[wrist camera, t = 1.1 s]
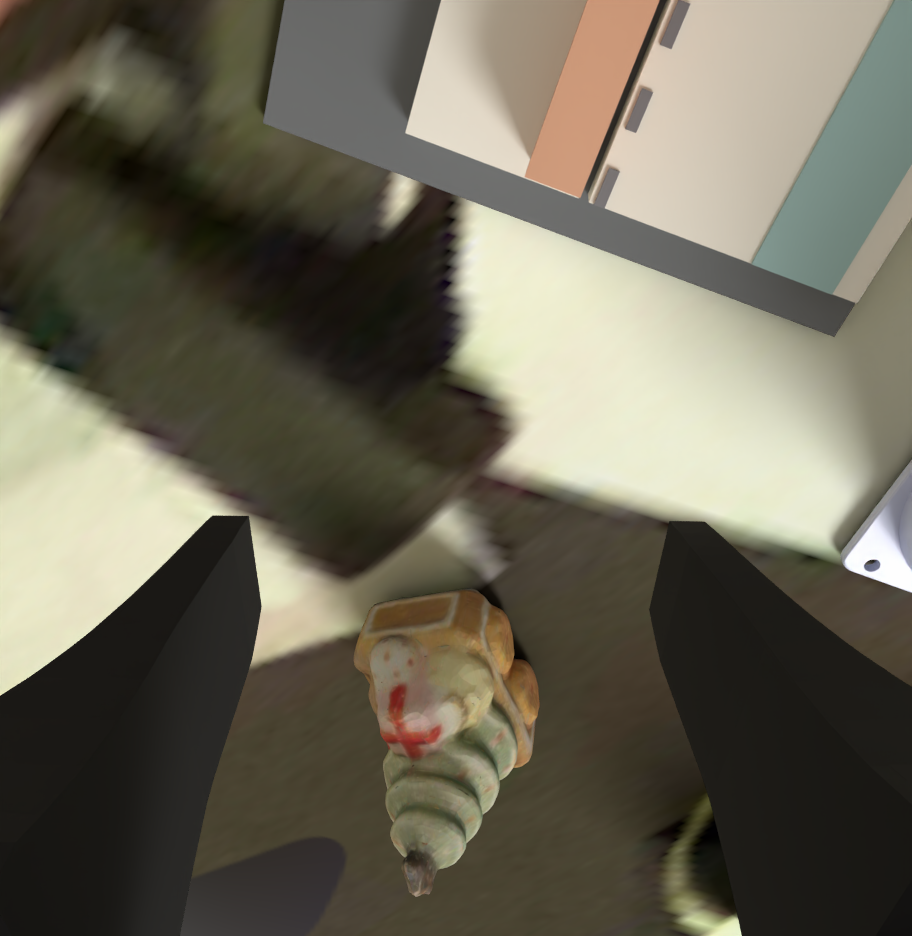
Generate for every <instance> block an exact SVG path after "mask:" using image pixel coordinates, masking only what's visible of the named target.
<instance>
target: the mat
mask: <svg viewBox="0 0 912 936" xmlns="http://www.w3.org/2000/svg"><path fill="white" fill-rule="evenodd" d="M666 1H667V0H660V1H659V3H658V6H657V8H656V11H655V13H654V16H653V18H652V21H651V23H650V26H649V28H648V31H647V33H646V36H645V38H644V41H643V43H642V45H641V48H640V50H639V53H638V55H637V58H636V60H635V63H634V65H633V68H632V70H631V73H630V75H629V78H628V80H627V83H626V85H625V88H624V90H623V93H622V95H621V98H620V100H619V103H618V105H617V108H616V110H615V113H614V115H613V118H612V120H611V123H610V125H609V128H608V130H607V133H606V135H605V138H604V140H603V143H602V145H601V148H600V150H599V153H598V155H597V158H596V160H595V163H594V165H593V168H592V170H591V173H590V175H589V178H588V180H587V183H586V185H585V187H584V190H583V192H582V195H581V197H580V198H576V197H573V196H571V195H568V194H565V193H563V192H560V191H557V190H555V189H552V188H549V187H547V186H544V185H541V184H539V183H536V182H533V181H531V180H528V179H525V178H523V177H520V176H518V175H515V174H512V173H510V172H507V171H504V170H502V169H499V168H496V167H494V166H491V165H488V164H486V163H483V162H480V161H478V160H475V159H472V158H470V157H467V156H465V155H462V154H459V153H457V152H454V151H451V150H449V149H446V148H443V147H441V146H438V145H435V144H433V143H430V142H427V141H425V140H422V139H419V138H417V137H414V136H412V135H409V134H406V133H405V132H406V128H407V124H408V121H409V117H410V113H411V110H412V106H413V102H414V99H415V95H416V91H417V87H418V84H419V80H420V76H421V73H422V69H423V65H424V62H425V58H426V54H427V51H428V47H429V43H430V39H431V36H432V32H433V28H434V25H435V21H436V17H437V14H438V10H439V6H440V3H441V0H285V2H284V7H283V13H282V19H281V24H280V30H279V36H278V41H277V47H276V53H275V58H274V64H273V69H272V75H271V81H270V86H269V92H268V98H267V103H266V109H265V115H264V120H263V123H264V124H267V125H270V126H272V127H275V128H278V129H280V130H283V131H286V132H288V133H291V134H294V135H296V136H299V137H302V138H304V139H307V140H310V141H312V142H315V143H318V144H320V145H323V146H326V147H328V148H331V149H334V150H336V151H339V152H342V153H344V154H347V155H350V156H352V157H355V158H358V159H360V160H363V161H366V162H368V163H371V164H374V165H376V166H379V167H382V168H385V169H387V170H390V171H393V172H395V173H398V174H401V175H403V176H406V177H409V178H411V179H414V180H417V181H419V182H422V183H425V184H427V185H430V186H433V187H435V188H438V189H441V190H443V191H446V192H449V193H451V194H454V195H457V196H459V197H462V198H465V199H467V200H470V201H473V202H475V203H478V204H481V205H483V206H486V207H489V208H491V209H494V210H497V211H499V212H502V213H505V214H507V215H510V216H513V217H515V218H518V219H521V220H523V221H526V222H529V223H531V224H534V225H537V226H539V227H542V228H545V229H548V230H550V231H553V232H556V233H558V234H561V235H564V236H566V237H569V238H572V239H574V240H577V241H580V242H582V243H585V244H588V245H590V246H593V247H596V248H598V249H601V250H604V251H606V252H609V253H612V254H614V255H617V256H620V257H622V258H625V259H628V260H630V261H633V262H636V263H638V264H641V265H644V266H646V267H649V268H652V269H654V270H657V271H660V272H662V273H665V274H668V275H670V276H673V277H676V278H678V279H681V280H684V281H686V282H689V283H692V284H694V285H697V286H700V287H702V288H705V289H708V290H711V291H713V292H716V293H719V294H721V295H724V296H727V297H729V298H732V299H735V300H737V301H740V302H743V303H745V304H748V305H751V306H753V307H756V308H759V309H761V310H764V311H767V312H769V313H772V314H775V315H777V316H780V317H783V318H785V319H788V320H791V321H793V322H796V323H799V324H801V325H804V326H807V327H809V328H812V329H815V330H817V331H820V332H823V333H825V334H828V335H831V336H833V337H834V336H835V335H836V333H837V332H838V330H839V329H840V327H841V325H842V324H843V322H844V321H845V319H846V317H847V316H848V314H849V313H850V311H851V310H852V308H853V306H854V305H855V303H854V302H852V301H849V300H846V299H844V298H841V297H838V296H836V295H833V294H832V295H831V294H829V293H826V292H823V291H821V290H818V289H815V288H813V287H810V286H807V285H805V284H802V283H799V282H797V281H794V280H792V279H789V278H786V277H784V276H781V275H778V274H776V273H773V272H770V271H768V270H765V269H762V268H760V267H757V266H754V265H752V264H751V263H748V262H746V261H743V260H740V259H738V258H735V257H732V256H730V255H727V254H724V253H722V252H719V251H716V250H714V249H711V248H708V247H706V246H703V245H700V244H698V243H695V242H693V241H690V240H687V239H685V238H682V237H679V236H677V235H674V234H671V233H669V232H666V231H663V230H661V229H658V228H655V227H653V226H650V225H647V224H645V223H642V222H639V221H637V220H634V219H632V218H629V217H626V216H624V215H621V214H618V213H616V212H613V211H610V210H608V209H605V208H604V209H603V208H601V207H598V206H595V205H594V204H592V203H589V200H588V193H589V190H590V188H591V185H592V183H593V181H594V178H595V176H596V173H597V171H598V168H599V166H600V163H601V161H602V158H603V156H604V153H605V151H606V148H607V146H608V144H609V141H610V139H611V136H612V134H613V131H614V129H615V126H616V124H617V121H618V119H619V116H620V114H621V111H622V109H623V107H624V104H625V102H626V99H627V97H628V94H629V92H630V89H631V87H632V84H633V82H634V79H635V77H636V74H637V72H638V70H639V67H640V65H641V62H642V60H643V57H644V55H645V52H646V50H647V47H648V45H649V42H650V40H651V38H652V35H653V33H654V30H655V28H656V25H657V23H658V20H659V18H660V15H661V13H662V10H663V8H664V5H665V3H666Z"/></svg>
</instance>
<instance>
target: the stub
mask: <svg viewBox="0 0 912 936" xmlns="http://www.w3.org/2000/svg"><path fill="white" fill-rule="evenodd" d="M659 1H660V0H441V3H440V6H439V10H438V14H437V17H436V21H435V25H434V28H433V32H432V36H431V39H430V43H429V47H428V51H427V54H426V58H425V62H424V65H423V69H422V73H421V76H420V80H419V84H418V87H417V91H416V95H415V99H414V102H413V106H412V110H411V113H410V117H409V121H408V124H407V128H406V132H405V133H406V134H409V135H412V136H414V137H417V138H419V139H422V140H425V141H427V142H430V143H433V144H435V145H438V146H441V147H443V148H446V149H449V150H451V151H454V152H457V153H459V154H462V155H465V156H467V157H470V158H472V159H475V160H478V161H480V162H483V163H486V164H488V165H491V166H494V167H496V168H499V169H502V170H504V171H507V172H510V173H512V174H515V175H518V176H520V177H523V178H525V179H528V180H531V181H533V182H536V183H539V184H541V185H544V186H547V187H549V188H552V189H555V190H557V191H560V192H563V193H565V194H568V195H571V196H573V197H576V198H580V197H581V195H582V192H583V190H584V187H585V185H586V183H587V180H588V178H589V175H590V173H591V170H592V168H593V165H594V163H595V160H596V158H597V155H598V153H599V150H600V148H601V145H602V143H603V140H604V138H605V135H606V133H607V130H608V128H609V125H610V123H611V120H612V118H613V115H614V113H615V110H616V108H617V105H618V103H619V100H620V98H621V95H622V93H623V90H624V88H625V85H626V83H627V80H628V78H629V75H630V73H631V70H632V68H633V65H634V63H635V60H636V58H637V55H638V53H639V50H640V48H641V45H642V43H643V41H644V38H645V36H646V33H647V31H648V28H649V26H650V23H651V21H652V18H653V16H654V13H655V11H656V8H657V6H658V3H659Z"/></svg>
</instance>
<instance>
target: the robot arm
mask: <svg viewBox="0 0 912 936" xmlns="http://www.w3.org/2000/svg"><path fill="white" fill-rule="evenodd" d="M872 559H874V560H876V561H875V562H874V563H873V564H870V565H865V563H866V562H867V561H869V560H872ZM841 561H842V563H843V564H844V566H845V568H847V569H848V570H850V571H853V572H855V573H858V574H861V575H864V576H866V577H869V578H872V579H875V580H878V581H880V582H883V583H886V584H889V585H892V586H894V587H897V588H900V589H903V590H906V591H908V592H911V593H912V460H911V461H910V462H909V464H908V465H907V466H906V468H905V469H904V470H903V472H902V473H901V474H900V476H899V477H898V478H897V480H896V481H895V482H894V483H893V485H892V486H891V487H890V489H889V490H888V491H887V493H886V494H885V495H884V497H883V498H882V499H881V501H880V502H879V503H878V504H877V506H876V507H875V508H874V510H873V511H872V512H871V514H870V515H869V516H868V518H867V519H866V520H865V522H864V523H863V524H862V525H861V527H860V528H859V529H858V531H857V532H856V533H855V535H854V536H853V537H852V539H851V540H850V541H849V543H848V544H847V545H846V547H845V548H844V549H843V551H842V553H841ZM261 607H262V606H261V599H260V592H259V585H258V578H257V571H256V564H255V557H254V550H253V543H252V536H251V529H250V522H249V516H212V517H210V518H209V519H208V520H207V521H206V522H205V523H204V524H203V525H202V526H201V527H200V528H199V529H198V530H197V531H196V532H195V533H194V534H193V535H192V536H191V537H190V538H189V539H188V540H187V541H186V542H185V543H184V544H183V545H182V546H181V548H180V549H179V550H178V551H177V552H176V553H175V554H174V555H173V556H172V557H171V558H170V559H169V560H168V561H167V562H166V563H165V564H164V565H163V566H162V567H161V568H160V569H159V570H158V571H157V572H156V573H154V574H153V575H152V576H151V577H150V578H149V579H148V580H147V581H146V582H145V583H144V584H143V585H142V586H141V587H140V588H139V589H138V590H137V591H136V592H135V593H134V594H133V595H132V596H130V597H129V598H128V599H127V600H126V601H125V602H124V603H123V604H122V605H120V606H119V607H118V608H117V609H116V610H115V611H114V612H112V613H111V614H110V615H109V616H108V617H107V618H106V619H104V620H103V621H102V622H101V623H100V624H99V625H98V626H96V627H95V628H94V629H93V630H92V631H91V632H89V633H88V634H87V635H86V636H84V637H83V638H82V639H81V640H79V641H78V642H77V643H75V644H74V645H73V646H72V647H70V648H69V649H68V650H66V651H65V652H64V653H62V654H61V655H60V656H58V657H57V658H55V659H54V660H53V661H51V662H50V663H49V664H47V665H46V666H44V667H43V668H42V669H40V670H39V671H37V672H36V673H35V674H33V675H32V676H30V677H29V678H27V679H26V680H24V681H23V682H21V683H19V684H18V685H16V686H15V687H13V688H12V689H10V690H8V691H7V692H5V693H4V694H2V695H1V696H0V936H180V932H181V927H182V922H183V916H184V911H185V906H186V901H187V896H188V891H189V886H190V881H191V876H192V871H193V866H194V861H195V856H196V851H197V847H198V842H199V837H200V833H201V828H202V823H203V819H204V814H205V809H206V805H207V801H208V797H209V794H210V790H211V787H212V783H213V779H214V776H215V773H216V770H217V767H218V764H219V760H220V757H221V754H222V751H223V748H224V745H225V742H226V739H227V736H228V733H229V730H230V727H231V723H232V720H233V717H234V714H235V711H236V708H237V705H238V702H239V699H240V696H241V692H242V689H243V686H244V683H245V680H246V677H247V674H248V670H249V667H250V664H251V661H252V656H253V651H254V646H255V641H256V635H257V630H258V624H259V618H260V613H261ZM649 611H650V616H651V621H652V626H653V630H654V635H655V640H656V644H657V649H658V653H659V657H660V662H661V665H662V667H663V670H664V673H665V676H666V679H667V682H668V684H669V687H670V690H671V693H672V696H673V698H674V701H675V704H676V707H677V709H678V712H679V715H680V718H681V720H682V723H683V726H684V728H685V731H686V734H687V737H688V739H689V742H690V745H691V748H692V750H693V753H694V756H695V758H696V761H697V764H698V767H699V769H700V772H701V775H702V778H703V781H704V784H705V787H706V790H707V793H708V797H709V800H710V803H711V807H712V811H713V815H714V819H715V823H716V827H717V831H718V835H719V839H720V842H721V846H722V850H723V854H724V858H725V863H726V867H727V871H728V876H729V880H730V884H731V889H732V893H733V897H734V902H735V906H736V911H737V915H738V919H739V924H740V929H741V934H742V936H912V687H911V686H910V685H908V684H906V683H905V682H903V681H902V680H900V679H898V678H897V677H895V676H894V675H892V674H891V673H890V672H888V671H887V670H885V669H884V668H882V667H881V666H879V665H878V664H876V663H875V662H873V661H872V660H870V659H869V658H867V657H866V656H864V655H863V654H861V653H860V652H859V651H857V650H856V649H854V648H853V647H852V646H850V645H849V644H848V643H846V642H845V641H844V640H842V639H841V638H840V637H838V636H837V635H836V634H834V633H833V632H832V631H831V630H829V629H828V628H827V627H825V626H824V625H823V624H822V623H820V622H819V621H818V620H816V619H815V618H814V617H813V616H811V615H810V614H809V613H808V612H807V611H805V610H804V609H803V608H802V607H800V606H799V605H798V604H797V603H796V602H794V601H793V600H792V599H791V598H790V597H789V596H787V595H786V594H785V593H784V592H783V591H782V590H780V589H779V588H778V587H777V586H776V585H775V584H774V583H772V582H771V581H770V580H769V579H768V578H767V577H766V576H765V575H763V574H762V573H761V572H760V571H759V570H758V569H757V568H756V567H755V566H753V565H752V564H751V563H750V562H749V561H748V560H747V559H746V558H745V557H744V556H742V555H741V554H740V553H739V552H738V551H737V550H736V549H735V548H734V547H733V546H732V545H730V544H729V543H728V542H727V541H726V540H725V539H724V538H723V537H722V536H721V535H719V534H718V533H717V532H716V531H715V530H714V529H713V528H711V527H710V526H709V525H708V524H707V523H706V522H693V521H669V526H668V530H667V535H666V539H665V543H664V548H663V552H662V556H661V561H660V565H659V569H658V574H657V578H656V582H655V587H654V591H653V596H652V600H651V604H650V609H649Z"/></svg>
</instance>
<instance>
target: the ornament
mask: <svg viewBox="0 0 912 936" xmlns="http://www.w3.org/2000/svg"><path fill="white" fill-rule="evenodd" d="M513 658H514V645H513V635H512V631H511V626H510V622H509V620H508V617H507V615H506V614H505V613H504V612H503V610H501V609H499V608H497V607H495V606H493V605H491V604H490V603H489V602H488V600H487V599H486V598H485V597H484V596H483V595H482V594H480V593H479V592H478V591H477V590H475V589H462V590H454V591H448V592H442V593H434V594H429V595H423V596H417V597H411V598H401V599H396V600H391V601H387V602H381V603H378V604H375V605H374V606H373V607H372V608H371V609H370V610H369V613H368V615H367V618H366V620H365V623H364V625H363V627H362V630H361V633H360V635H359V638H358V641H357V645H356V649H355V653H354V664H355V666H356V668H357V669H358V670H359V671H361V672H362V673H364V675H365V676H366V678H367V680H368V681H369V683H370V689H369V700H370V703H371V706H372V708H373V710H374V712H375V713H376V715H377V716H378V721H379V724H380V732H381V736H382V738H383V739H384V740H385V741H386V742H387V745H388V748H389V751H388V753H387V755H386V757H385V759H384V761H383V769H384V775H385V781H386V785H387V789H388V790H387V793H386V800H385V803H386V808H387V810H388V813H389V815H390V817H391V819H392V821H393V822H394V823H393V825H392V828H391V832H390V836H391V838H392V841H393V843H394V845H395V847H396V848H397V849H398V851H399V852H400V853H401V855H403V856H404V857H405V859H404V860H403V862H402V872H403V874H404V876H405V879H406V882H407V885H408V890H409V892H410V893H412V894H413V895H414V896H415V897H416V896H420V895H422V894H429V893H430V891H431V890H432V887H433V881H434V877H435V874H436V872H437V870H438V869H442V868H446V867H449V866H451V865H452V864H454V863H455V862H456V861H457V860H458V859H459V858H460V857H461V856H462V854H463V852H464V850H465V848H466V843H467V842H468V841H469V840H470V839H471V838H472V837H473V836H474V835H475V834H476V833H477V831H478V829H479V827H480V825H481V822H482V817H483V814H484V813H485V812H487V811H488V810H489V809H490V808H491V807H492V805H493V804H494V802H495V799H496V797H497V795H498V792H499V786H500V780H501V779H503V778H504V777H506V776H507V775H508V774H509V773H510V771H511V770H512V768H517V767H521V766H523V765H524V764H525V763H527V762H528V761H529V759H530V757H531V755H532V748H533V741H534V732H535V721H536V717H537V715H538V710H539V705H540V704H539V694H538V684H537V680H536V677H535V673H534V671H533V669H532V667H531V665H530V664H529V663H528V662H527V661H525V660H522V659H513Z"/></svg>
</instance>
